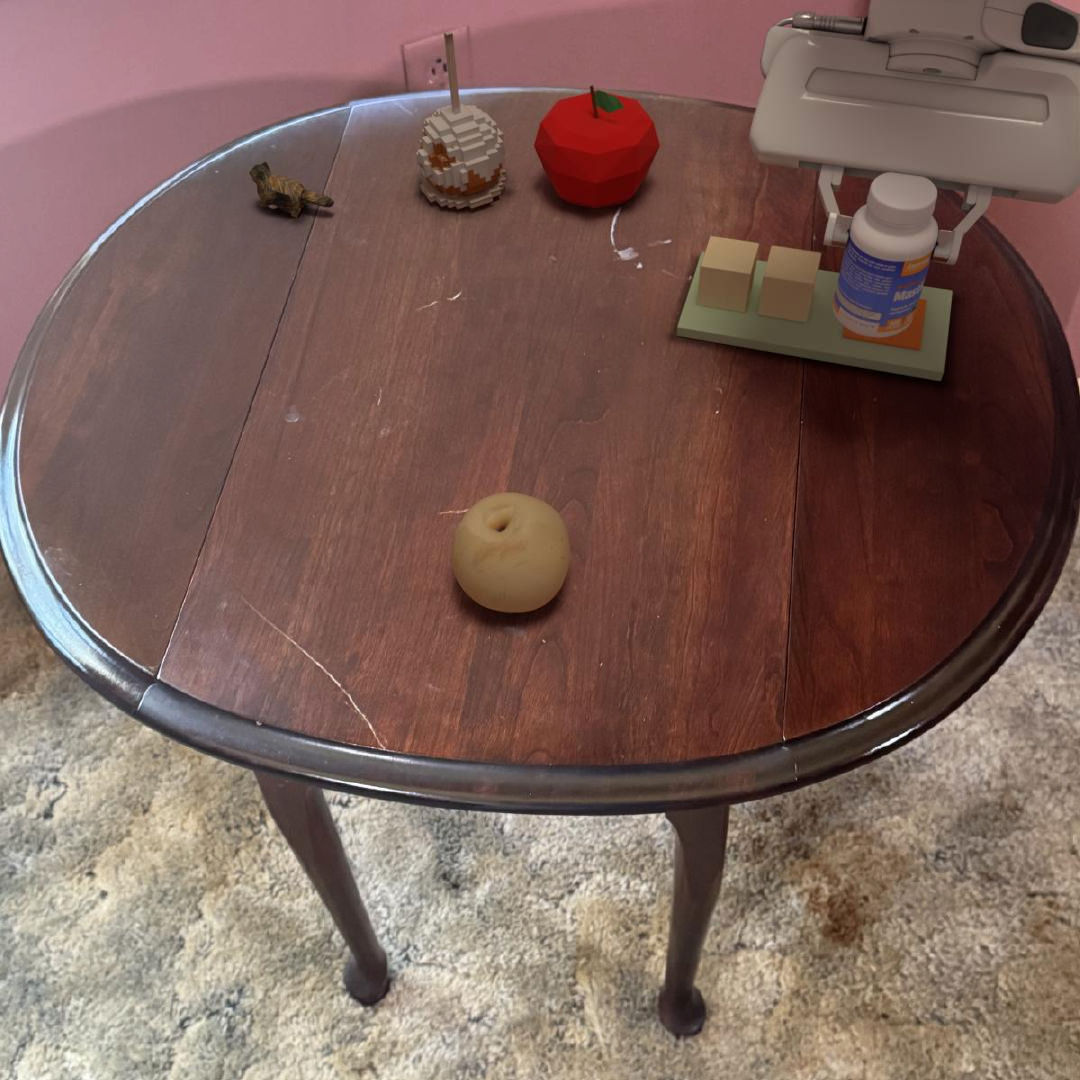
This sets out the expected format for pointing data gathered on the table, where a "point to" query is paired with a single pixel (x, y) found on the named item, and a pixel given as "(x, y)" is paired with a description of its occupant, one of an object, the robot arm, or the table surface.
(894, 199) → the pill bottle
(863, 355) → the word mat
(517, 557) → the apple
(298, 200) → the cat figurine
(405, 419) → the table surface
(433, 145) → the caramel apple
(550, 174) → the apple
